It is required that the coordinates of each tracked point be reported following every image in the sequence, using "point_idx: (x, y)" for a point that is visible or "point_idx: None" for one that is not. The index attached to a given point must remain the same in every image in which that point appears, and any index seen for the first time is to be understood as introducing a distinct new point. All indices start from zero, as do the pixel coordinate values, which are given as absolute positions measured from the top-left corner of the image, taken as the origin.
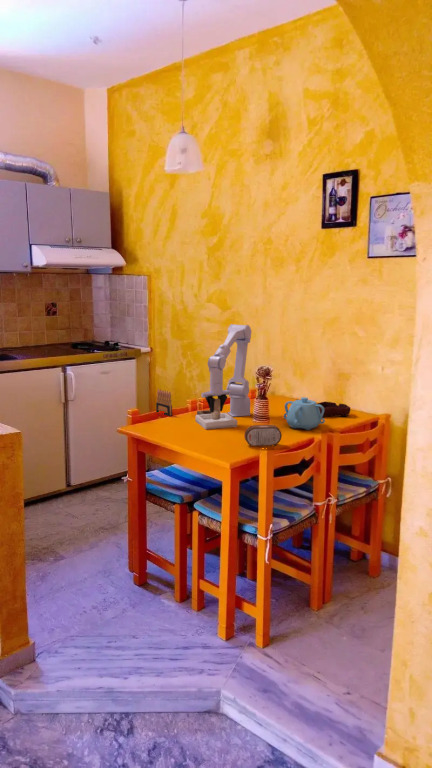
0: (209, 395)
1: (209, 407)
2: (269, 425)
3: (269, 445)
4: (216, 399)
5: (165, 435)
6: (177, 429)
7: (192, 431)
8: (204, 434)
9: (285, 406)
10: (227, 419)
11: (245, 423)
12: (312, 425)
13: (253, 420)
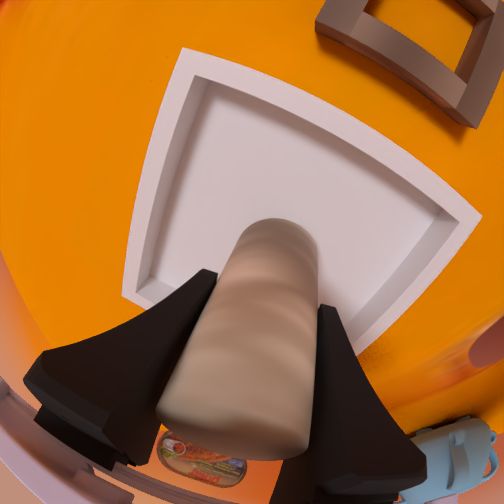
0: (71, 456)
1: (174, 297)
2: (211, 484)
3: None
4: (241, 440)
5: (4, 216)
6: (39, 171)
7: (78, 247)
8: (107, 312)
9: (454, 470)
10: (400, 264)
11: (413, 343)
12: None
13: (483, 330)
